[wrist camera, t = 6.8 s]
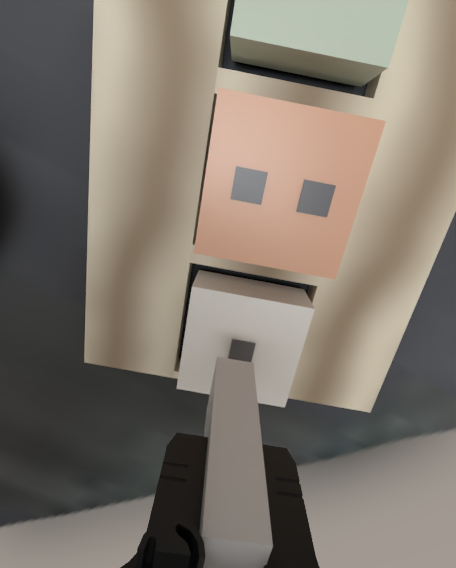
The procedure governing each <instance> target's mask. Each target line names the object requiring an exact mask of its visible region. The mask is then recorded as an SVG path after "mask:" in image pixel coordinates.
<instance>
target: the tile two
mask: <svg viewBox="0 0 456 568" xmlns="http://www.w3.org/2000/svg"><path fill="white" fill-rule="evenodd" d="M385 122H386V121H383V120H378V119H373V118H368V117H363V116H358V115H353V114H348V113H343V112H338V111H333V110H328V109H323V108H318V107H313V106H308V105H303V104H298V103H293V102H288V101H283V100H278V99H273V98H268V97H263V96H258V95H253V94H248V93H243V92H238V91H233V90H228V89H223V88H218V92H217V99H216V105H215V112H214V119H213V126H212V133H211V139H210V146H209V153H208V160H207V166H206V173H205V180H204V187H203V193H202V200H201V207H200V214H199V221H198V227H197V234H196V241H195V248H194V253H195V254H201V255H206V256H212V257H217V258H222V259H228V260H233V261H239V262H244V263H249V264H255V265H260V266H265V267H271V268H276V269H282V270H287V271H292V272H298V273H303V274H308V275H314V276H319V277H325V278H330V279H335V280H336V277H337V273H338V270H339V267H340V264H341V261H342V258H343V255H344V251H345V248H346V245H347V242H348V239H349V236H350V232H351V229H352V226H353V223H354V220H355V217H356V214H357V210H358V207H359V204H360V201H361V198H362V195H363V192H364V188H365V185H366V182H367V179H368V176H369V173H370V170H371V166H372V163H373V160H374V157H375V154H376V151H377V148H378V144H379V141H380V138H381V135H382V132H383V129H384V126H385Z"/></svg>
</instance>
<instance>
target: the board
mask: <svg viewBox="0 0 456 568" xmlns="http://www.w3.org/2000/svg"><path fill="white" fill-rule="evenodd" d="M231 1H232V0H94V16H93V54H92V91H91V128H90V165H89V202H88V239H87V276H86V313H85V351H84V363H90V364H96V365H102V366H107V367H113V368H119V369H124V370H130V371H136V372H142V373H147V374H153V375H159V376H164V377H170V378H176V379H178V375H179V368H180V362H181V358H179V352H180V345H181V338H182V331H183V325H184V318H185V311H186V304H187V298H188V291H189V284H190V277H191V271H192V264H193V263H195V264H200V265H206V266H211V267H216V268H222V269H227V270H233V271H238V272H243V273H249V274H254V275H260V276H265V277H270V278H276V279H281V280H287V281H292V282H297V283H303V284H308V285H309V288H308V291H307V296H308V297H309V299H310V301H311V303H312V305H313V306H314V308H315V310H314V313H313V317H312V320H311V323H310V327H309V330H308V333H307V337H306V340H305V343H304V346H303V350H302V353H301V356H300V360H299V363H298V366H297V369H296V373H295V376H294V379H293V383H292V386H291V389H290V392H289V396H288V398H290V399H296V400H301V401H307V402H313V403H319V404H324V405H330V406H336V407H341V408H347V409H353V410H359V411H364V412H371V409H372V407H373V405H374V402H375V400H376V398H377V395H378V393H379V391H380V388H381V386H382V384H383V381H384V379H385V376H386V374H387V372H388V369H389V367H390V365H391V362H392V360H393V358H394V355H395V353H396V351H397V348H398V346H399V343H400V341H401V339H402V336H403V334H404V332H405V329H406V327H407V325H408V322H409V320H410V318H411V315H412V313H413V310H414V308H415V306H416V303H417V301H418V299H419V296H420V294H421V292H422V289H423V287H424V285H425V282H426V280H427V277H428V275H429V273H430V270H431V268H432V266H433V263H434V261H435V259H436V256H437V254H438V252H439V249H440V247H441V244H442V242H443V240H444V237H445V235H446V233H447V230H448V228H449V226H450V223H451V221H452V219H453V216H454V214H455V211H456V0H409V1H408V5H407V8H406V11H405V14H404V18H403V21H402V24H401V28H400V31H399V34H398V37H397V41H396V44H395V47H394V51H393V54H392V57H391V60H390V64H389V67H388V68H387V69H386V70H385V71H383V72H382V73H380V74H379V75H378V76H376V77H375V78H373V79H372V80H371V81H369V82H368V84H367V87H366V91H365V94H364V97H363V96H358V95H353V94H348V93H343V92H338V91H333V90H328V89H323V88H319V87H314V86H309V85H304V84H299V83H294V82H289V81H284V80H279V79H274V78H269V77H264V76H259V75H254V74H249V73H244V72H239V71H234V70H229V69H224V68H222V61H223V55H224V48H225V41H226V34H227V28H228V21H229V14H230V7H231ZM218 88H223V89H228V90H233V91H238V92H243V93H248V94H253V95H258V96H263V97H268V98H273V99H278V100H283V101H288V102H293V103H298V104H303V105H308V106H313V107H318V108H323V109H328V110H333V111H338V112H343V113H348V114H353V115H358V116H363V117H368V118H373V119H378V120H383V121H386V122H385V126H384V129H383V132H382V135H381V138H380V141H379V144H378V148H377V151H376V154H375V157H374V160H373V163H372V166H371V170H370V173H369V176H368V179H367V182H366V185H365V188H364V192H363V195H362V198H361V201H360V204H359V207H358V210H357V214H356V217H355V220H354V223H353V226H352V229H351V232H350V236H349V239H348V242H347V245H346V248H345V251H344V255H343V258H342V261H341V264H340V267H339V270H338V273H337V277H336V280H335V279H330V278H325V277H319V276H314V275H308V274H303V273H298V272H292V271H287V270H282V269H276V268H271V267H265V266H260V265H255V264H249V263H244V262H239V261H233V260H228V259H222V258H217V257H212V256H206V255H201V254H195V253H194V248H195V241H196V234H197V227H198V221H199V214H200V207H201V200H202V193H203V187H204V180H205V173H206V166H207V160H208V153H209V146H210V139H211V133H212V126H213V119H214V112H215V105H216V99H217V92H218Z"/></svg>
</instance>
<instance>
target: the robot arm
mask: <svg viewBox="0 0 456 568" xmlns="http://www.w3.org/2000/svg"><path fill="white" fill-rule="evenodd" d="M121 568H319V565H318V562H317V559H316V556H315V551H314V547H313V542H312V538H311V532H310V528H309V523H308V518H307V514H306V509H305V505H304V500H303V499H302V490H301V486H300V484H299V477H298V472H297V467H296V463H295V462H294V460H293V458H292V457H291V455H290V453H289V452H288V450H287V449H286V448H281V447H275V446H268V445H262V439H261V429H260V420H259V410H258V401H257V392H256V382H255V373H254V363H252V362H246V361H240V360H234V359H228V358H222V357H217V360H216V365H215V370H214V375H213V380H212V385H211V391H210V396H209V401H208V406H207V412H206V421H205V430H204V437H202V436H196V435H189V434H182V433H177V434H176V435H175V436H174V437H173V439H172V440H171V441H170V443H169V444H168V445H167V449H166V453H165V457H164V461H163V465H162V470H161V474H160V479H159V482H158V486H157V490H156V495H155V499H154V503H153V507H152V511H151V515H150V520H149V524H148V528H147V532H146V533H145V534H144V535H143V538H142V540H141V542H140V544H139V547H138V550H137V554H136V555H135V556H134V557H133V558H132V559H131V560H130V561H129V562H128V563H126V564H125V565H124V566H122V567H121Z"/></svg>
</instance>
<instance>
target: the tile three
mask: <svg viewBox="0 0 456 568" xmlns="http://www.w3.org/2000/svg"><path fill="white" fill-rule="evenodd" d="M408 1H409V0H235V5H234V11H233V18H232V24H231V31H230V44H231V58H232V61H235V62H240V63H245V64H250V65H255V66H260V67H265V68H270V69H275V70H280V71H285V72H290V73H295V74H300V75H305V76H309V77H314V78H319V79H324V80H329V81H334V82H339V83H344V84H349V85H354V86H359V87H362V86H364V85H365V84H366V83H368V82H369V81H371V80H372V79H373V78H375V77H376V76H378V75H379V74H380V73H382V72H383V71H385V70H386V69H387V68H388V67H389V64H390V60H391V57H392V54H393V51H394V47H395V44H396V41H397V37H398V34H399V31H400V28H401V24H402V21H403V18H404V14H405V11H406V8H407V5H408Z"/></svg>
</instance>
